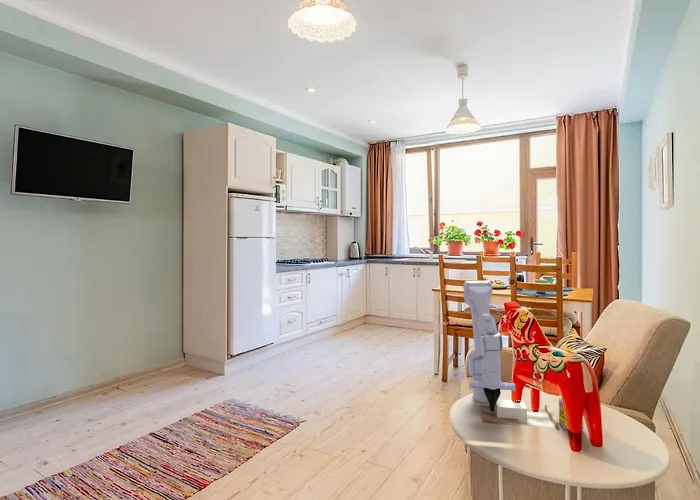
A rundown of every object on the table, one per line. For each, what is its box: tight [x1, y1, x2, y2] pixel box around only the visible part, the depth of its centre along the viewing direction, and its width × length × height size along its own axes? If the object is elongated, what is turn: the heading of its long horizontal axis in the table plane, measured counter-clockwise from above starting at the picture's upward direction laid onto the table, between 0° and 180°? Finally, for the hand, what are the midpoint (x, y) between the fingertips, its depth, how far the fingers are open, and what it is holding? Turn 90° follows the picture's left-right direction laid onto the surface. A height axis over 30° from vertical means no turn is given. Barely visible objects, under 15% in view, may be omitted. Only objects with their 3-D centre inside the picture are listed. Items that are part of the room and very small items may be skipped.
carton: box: [495, 398, 528, 420], centre depth 137 cm, size 6×9×4 cm
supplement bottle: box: [558, 395, 584, 432], centre depth 127 cm, size 7×7×13 cm
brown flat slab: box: [479, 404, 560, 429], centre depth 135 cm, size 14×22×2 cm, turn 78°
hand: (492, 410), depth 138 cm, fingers closed
